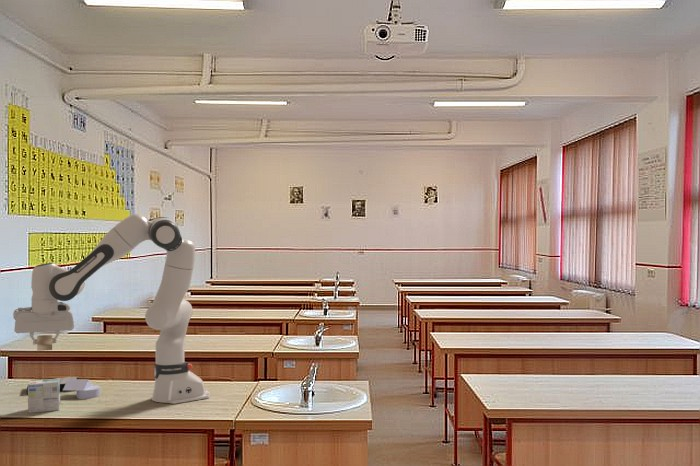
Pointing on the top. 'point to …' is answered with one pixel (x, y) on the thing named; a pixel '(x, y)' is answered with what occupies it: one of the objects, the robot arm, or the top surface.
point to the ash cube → (44, 342)
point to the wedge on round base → (83, 388)
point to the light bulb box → (43, 395)
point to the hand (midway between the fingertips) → (44, 343)
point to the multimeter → (62, 383)
